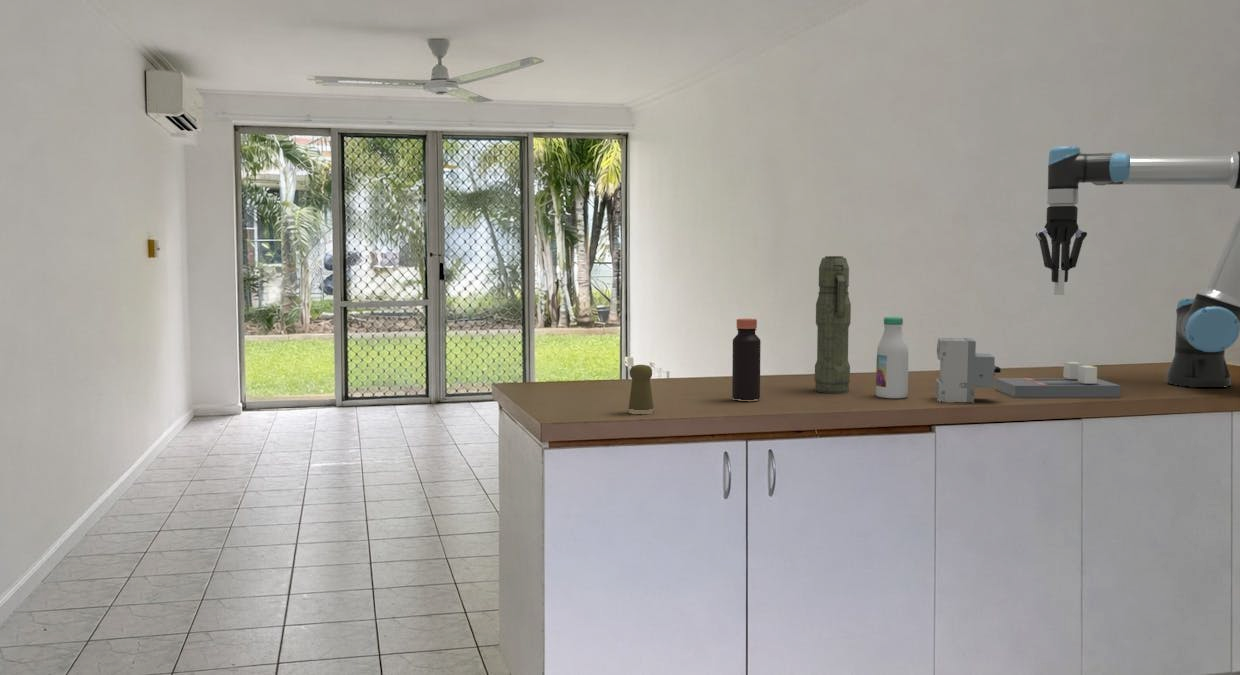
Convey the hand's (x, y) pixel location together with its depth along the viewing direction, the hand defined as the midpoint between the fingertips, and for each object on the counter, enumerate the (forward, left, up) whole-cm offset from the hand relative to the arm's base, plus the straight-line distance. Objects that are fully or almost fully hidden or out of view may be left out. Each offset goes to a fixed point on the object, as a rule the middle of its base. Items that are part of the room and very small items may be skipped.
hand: (1059, 294), depth 274 cm
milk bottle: (+49, +20, -25) cm, 58 cm away
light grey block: (0, +11, -21) cm, 24 cm away
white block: (0, +19, -21) cm, 28 cm away
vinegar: (+86, +25, -25) cm, 93 cm away
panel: (+6, +15, -24) cm, 29 cm away
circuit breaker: (+32, +26, -25) cm, 48 cm away
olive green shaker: (+112, +43, -25) cm, 122 cm away
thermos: (+62, +10, -25) cm, 67 cm away
